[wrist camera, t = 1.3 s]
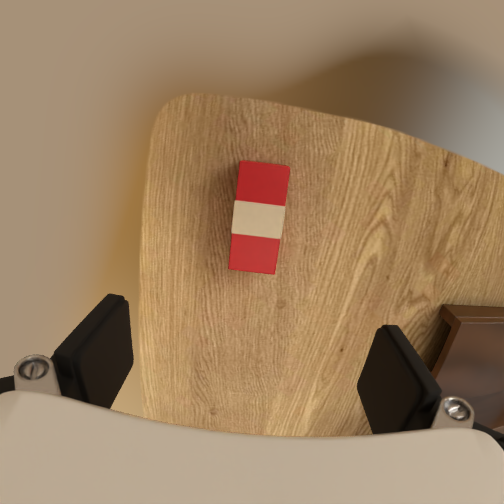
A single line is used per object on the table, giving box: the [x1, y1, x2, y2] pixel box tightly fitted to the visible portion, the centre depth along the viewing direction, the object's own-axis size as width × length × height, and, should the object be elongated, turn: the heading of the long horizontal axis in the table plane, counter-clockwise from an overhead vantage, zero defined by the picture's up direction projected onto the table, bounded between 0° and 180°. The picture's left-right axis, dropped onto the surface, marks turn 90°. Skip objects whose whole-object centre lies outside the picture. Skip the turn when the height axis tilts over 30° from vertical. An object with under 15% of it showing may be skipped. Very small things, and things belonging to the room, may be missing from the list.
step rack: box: [431, 304, 504, 434], centre depth 26 cm, size 21×18×10 cm
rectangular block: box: [228, 160, 290, 275], centre depth 23 cm, size 8×4×3 cm, turn 173°
